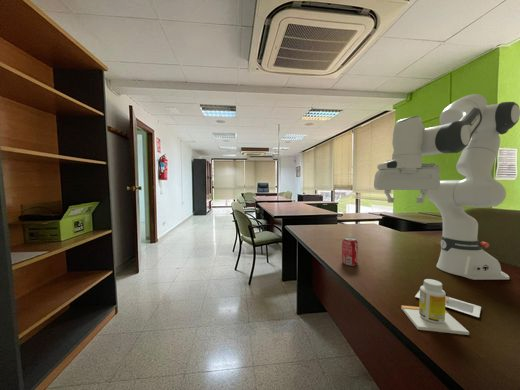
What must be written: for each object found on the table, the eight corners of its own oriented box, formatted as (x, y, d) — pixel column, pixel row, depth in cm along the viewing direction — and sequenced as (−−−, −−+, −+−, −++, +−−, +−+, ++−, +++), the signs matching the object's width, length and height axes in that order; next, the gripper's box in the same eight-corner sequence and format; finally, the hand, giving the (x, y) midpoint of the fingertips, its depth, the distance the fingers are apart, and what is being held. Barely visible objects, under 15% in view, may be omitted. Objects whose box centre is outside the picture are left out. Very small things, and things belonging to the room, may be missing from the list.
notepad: (444, 312, 64) (444, 309, 64) (469, 335, 55) (469, 331, 55) (401, 308, 66) (401, 305, 66) (417, 329, 57) (417, 325, 57)
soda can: (355, 261, 105) (355, 236, 105) (360, 266, 98) (360, 240, 98) (339, 260, 106) (340, 236, 105) (344, 266, 99) (344, 240, 98)
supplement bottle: (449, 321, 59) (450, 284, 58) (437, 326, 56) (439, 288, 56) (425, 310, 64) (427, 276, 63) (414, 315, 62) (415, 279, 61)
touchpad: (478, 321, 61) (479, 313, 61) (414, 299, 72) (414, 293, 72) (480, 310, 66) (481, 303, 66) (420, 291, 77) (420, 285, 77)
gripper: (434, 163, 78) (432, 202, 79) (372, 165, 82) (372, 201, 83) (445, 162, 72) (443, 203, 73) (378, 163, 76) (377, 203, 77)
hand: (405, 202), depth 78 cm, fingers open, 8 cm apart
